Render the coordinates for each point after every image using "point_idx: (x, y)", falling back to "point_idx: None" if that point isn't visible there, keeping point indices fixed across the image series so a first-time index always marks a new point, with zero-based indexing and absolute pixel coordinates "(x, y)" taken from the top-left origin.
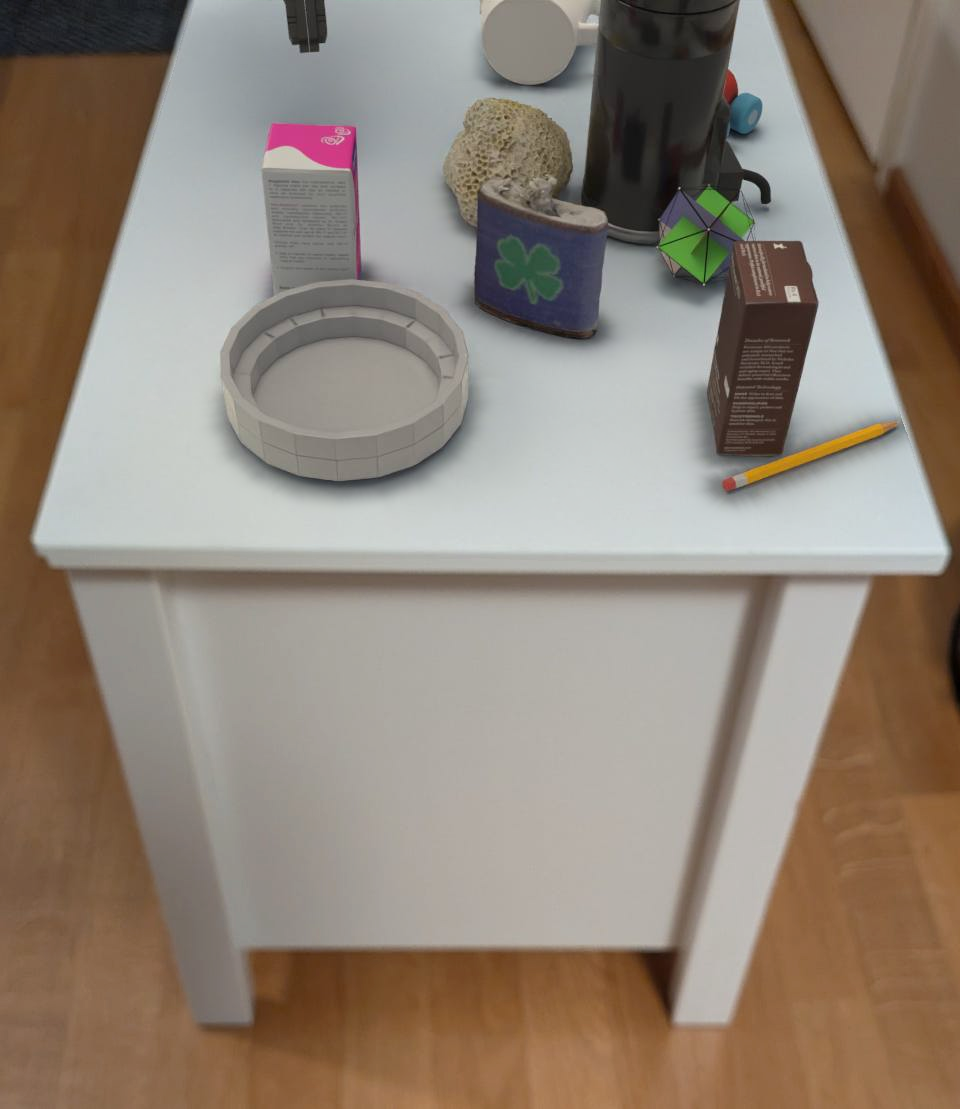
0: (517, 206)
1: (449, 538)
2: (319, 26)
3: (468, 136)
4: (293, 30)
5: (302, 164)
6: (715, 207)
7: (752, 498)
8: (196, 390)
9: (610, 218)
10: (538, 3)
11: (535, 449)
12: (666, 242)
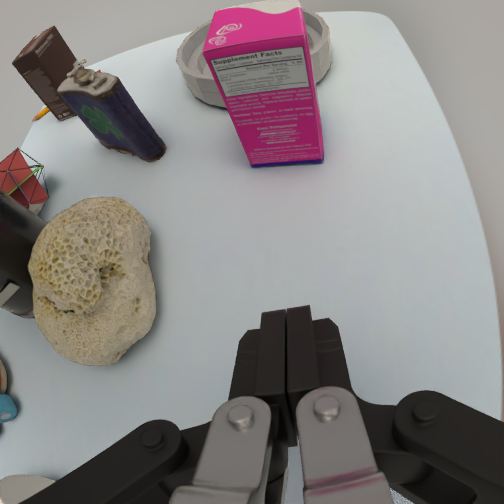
0: (100, 73)
1: None
2: (256, 343)
3: (100, 243)
4: (324, 329)
5: (259, 4)
6: None
7: None
8: (354, 63)
9: None
10: (9, 500)
11: (164, 65)
12: (37, 170)
